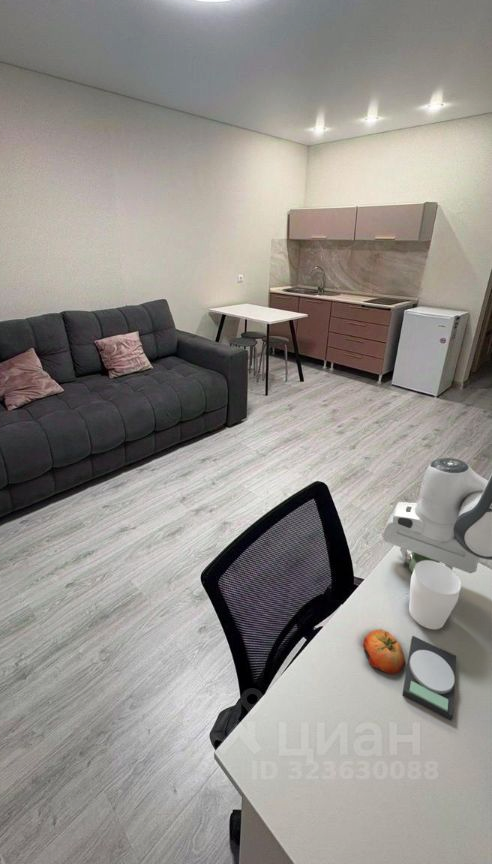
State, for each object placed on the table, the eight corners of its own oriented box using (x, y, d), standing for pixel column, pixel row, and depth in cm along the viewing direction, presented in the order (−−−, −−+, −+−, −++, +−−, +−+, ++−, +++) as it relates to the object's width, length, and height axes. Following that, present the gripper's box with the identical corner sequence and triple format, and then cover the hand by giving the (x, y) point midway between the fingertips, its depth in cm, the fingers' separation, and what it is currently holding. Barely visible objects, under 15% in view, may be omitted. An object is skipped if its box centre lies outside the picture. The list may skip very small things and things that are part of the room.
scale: (410, 644, 82) (413, 632, 81) (453, 664, 78) (457, 652, 77) (401, 699, 72) (404, 687, 71) (449, 725, 69) (454, 713, 68)
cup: (406, 593, 93) (416, 553, 89) (450, 612, 89) (462, 570, 85) (400, 624, 86) (410, 582, 82) (447, 645, 82) (461, 602, 77)
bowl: (418, 559, 103) (421, 545, 102) (441, 576, 98) (445, 562, 96) (402, 568, 100) (405, 554, 99) (425, 587, 95) (429, 572, 93)
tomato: (399, 686, 73) (380, 644, 75) (367, 684, 78) (349, 644, 79) (415, 660, 79) (397, 621, 80) (384, 659, 83) (367, 623, 85)
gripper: (487, 530, 91) (472, 577, 96) (391, 499, 101) (382, 543, 106) (487, 548, 86) (471, 596, 91) (386, 514, 96) (377, 559, 101)
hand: (422, 567), depth 98 cm, fingers closed on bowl, 6 cm apart
